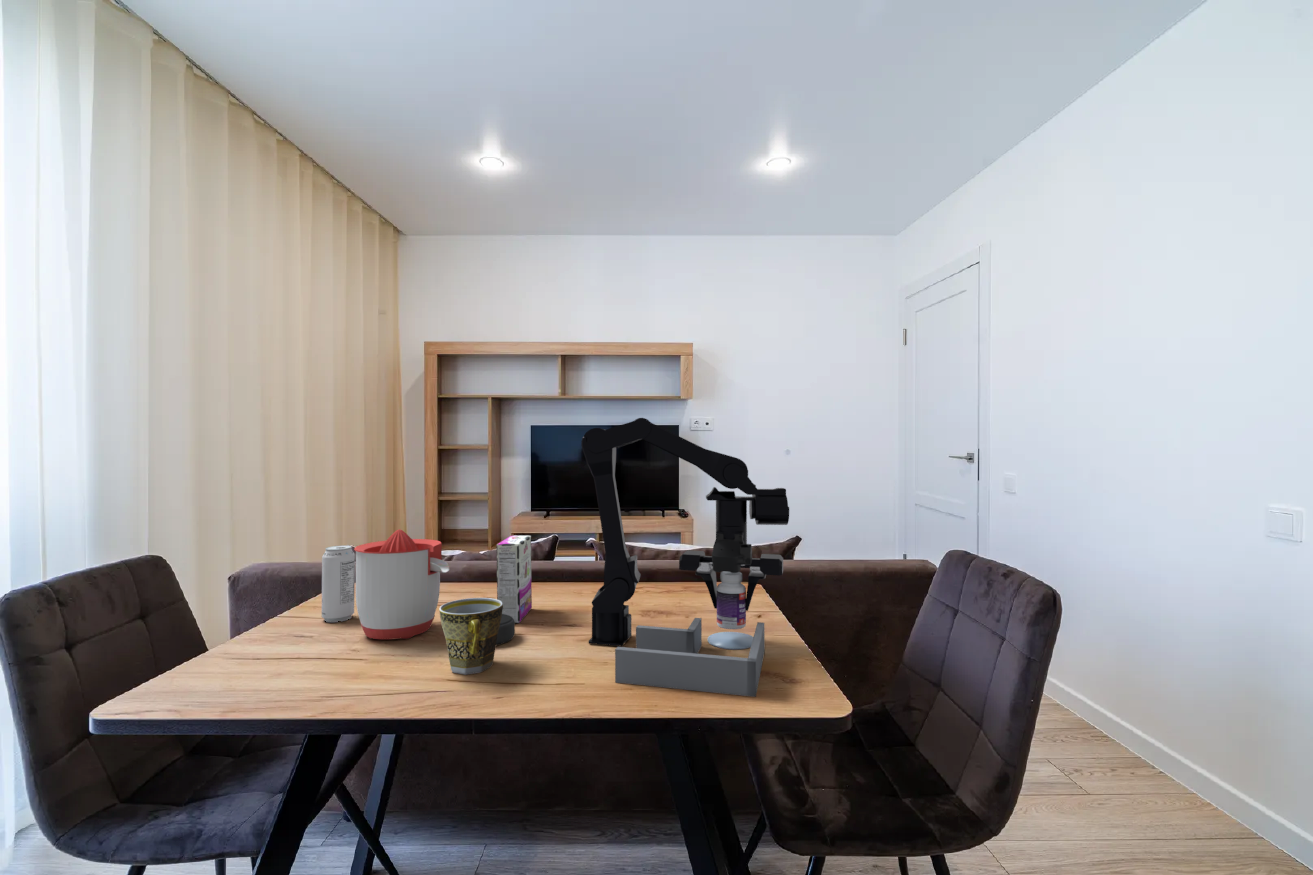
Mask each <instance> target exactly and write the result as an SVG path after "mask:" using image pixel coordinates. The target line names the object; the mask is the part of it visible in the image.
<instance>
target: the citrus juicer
mask: <svg viewBox="0 0 1313 875" xmlns="http://www.w3.org/2000/svg"><path fill="white" fill-rule="evenodd" d="M442 546H443V544H442V542H441V541H439V540H436V539H430V538H429V539H428V538H427V539H426V538H411V536H410V535H409V534H407V533H406V532H405V531H404V530H402V529H401V528H399V529H397V530H395V531H394V532H393V533H392V534H390V536H388V538H387V539H386V540H380V541H379V540H378V541H372V542H368V543H363V544H359V545H357V546H355V547H354V548H353V549H354V551H355V604H356V611H357V614H358V619H359V622H360V626H361V628H362V630H363V633H364V635H365V636H366V637H367V638H368V639H371V638H373V639H372V640H374V639H375V640H396V639H397V640H398V639H404V640H406V639H407V640H409V639H411V638H413V637H414V636H417V635H420V634H423V633H425V632H427V631H428V630H429V629H430V628H431V626H432V624H433V622H434V619H435V617H436V616H435V614H436V610H437V607H438V605H439V604H438V603H439V598H440V591H441V590H440V588H441V574H446V573H448V572H449V571H450V566H449V563H448V562H447V561H445V560H443V558H442V555H443V554H442V552H443V550H442V549H443V548H442Z"/></svg>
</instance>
